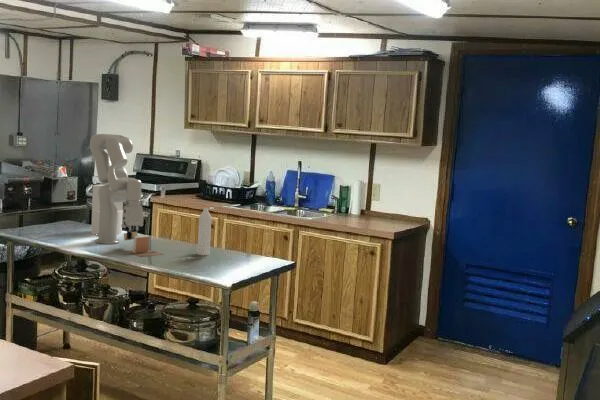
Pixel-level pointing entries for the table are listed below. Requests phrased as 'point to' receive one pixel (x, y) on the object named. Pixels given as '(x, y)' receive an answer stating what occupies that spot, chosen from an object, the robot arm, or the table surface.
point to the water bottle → (204, 232)
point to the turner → (132, 236)
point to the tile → (141, 244)
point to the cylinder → (97, 208)
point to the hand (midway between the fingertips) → (131, 238)
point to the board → (144, 253)
